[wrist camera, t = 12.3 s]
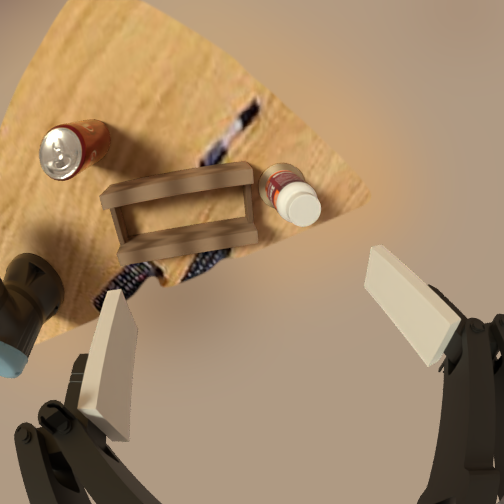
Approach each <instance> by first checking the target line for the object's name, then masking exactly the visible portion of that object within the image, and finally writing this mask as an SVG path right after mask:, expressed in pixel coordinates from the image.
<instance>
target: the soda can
mask: <svg viewBox="0 0 504 504" xmlns="http://www.w3.org/2000/svg"><path fill="white" fill-rule="evenodd" d="M110 142H111V137H110V132H109V130H108V128H107V127H106V125H105V124H104V123H102V122H101V121H99V120H95V119H90V120H83V121H78V122H72V123H66V124H61V125H58V126H55V127H53V128H52V129H51V130H49V131H48V132H47V134H46V135H45V136H44V138H43V140H42V142H41V145H40V149H39V159H40V164H41V167H42V169H43V170H44V172H45V173H46V174H47V175H48V176H49V177H50V178H52V179H54V180H58V181H65V180H69V179H71V178H73V177H74V176H76V175H77V174H79V173H80V172H82V171H83V170H85V169H87V168H88V167H90V166H91V165H93V164H95V163H96V162H98V161H99V160H101V159H102V158H103V157H104V156H105V155H106V153H107V152H108V150H109V147H110Z"/></svg>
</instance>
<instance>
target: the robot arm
mask: <svg viewBox="0 0 504 504" xmlns="http://www.w3.org/2000/svg"><path fill="white" fill-rule="evenodd" d="M364 288H365V289H366V290H367V291H368V292H369V294H370V295H371V296H372V297H373V298H374V299H375V301H376V302H377V303H378V304H379V305H380V307H381V308H382V309H383V310H384V312H385V313H386V314H387V315H388V316H389V318H390V319H391V320H392V321H393V322H394V324H395V325H396V326H397V328H399V330H400V331H401V333H402V334H403V335H404V336H405V338H406V339H407V340H408V341H409V343H410V344H411V345H412V347H413V348H414V349H415V351H416V352H417V353H418V354H419V356H420V357H421V358H422V360H423V361H424V362H425V364H426V365H427V366H430V365H432V364H434V363H436V362H438V361H439V359H440V358H441V356H442V354H443V353H444V354H445V355H446V358H445V360H444V361H443V363H442V365H441V366H440V368H439V372H440V371H441V370H442V368H443V367H444V371H443V373H444V386H443V400H442V410H441V420H440V426H439V434H438V440H437V446H436V451H435V456H434V461H433V466H432V470H431V474H430V479H429V482H428V485H427V488H426V490H425V491H424V492H423V494H422V495H421V496H420V498H419V500H418V502H417V504H496V500H497V495H498V497H499V500H500V502H498V503H497V504H504V314H497V315H496V316H495V318H494V319H493V321H492V322H491V323H485V324H484V323H483V322H482V321H481V320H479V319H476V318H469V319H467V318H466V317H465V316H464V315H463V314H462V313H461V312H460V311H459V309H457V307H455V305H454V304H453V303H451V302H449V300H448V299H447V298H446V297H444V295H443V294H442V293H441V292H440V291H439V290H438V289H437V288H435V287H433V286H431V285H427V284H425V283H424V282H423V281H422V280H421V279H420V278H419V277H418V276H417V275H416V274H415V273H414V272H413V271H411V270H410V269H409V268H408V267H407V266H406V265H405V264H404V263H403V262H401V261H400V260H399V259H398V258H397V257H396V256H394V255H393V254H392V253H391V252H390V251H389V250H388V249H386V248H385V247H384V246H383V245H377V246H372V247H371V250H370V256H369V263H368V268H367V273H366V279H365V284H364ZM63 299H64V289H63V285H62V282H61V280H60V278H59V276H58V274H57V273H56V271H55V270H54V269H53V268H52V267H51V266H50V265H49V264H48V263H47V262H46V261H45V260H43V259H42V258H40V257H38V256H36V255H34V254H29V253H23V254H19V255H18V256H16V257H15V258H14V259H13V260H12V261H11V263H10V264H9V266H8V268H7V270H6V274H5V277H4V280H3V282H2V280H1V278H0V376H3V377H6V378H16V377H18V376H19V375H20V374H21V373H22V371H23V369H24V367H25V365H26V363H27V362H28V357H29V355H30V353H31V350H32V348H33V345H34V343H35V341H36V338H37V336H38V334H39V332H40V329H41V327H42V325H43V324H44V323H45V322H46V321H47V320H49V319H50V318H51V317H52V316H53V315H55V314H56V313H57V312H58V310H59V309H60V307H61V304H62V302H63ZM137 333H138V328H137V326H136V324H135V321H134V319H133V317H132V314H131V312H130V310H129V308H128V305H127V302H126V300H125V297H124V295H123V292H122V290H121V289H118V290H111V291H107V294H106V297H105V300H104V303H103V306H102V310H101V313H100V316H99V319H98V323H97V326H96V330H95V334H94V337H93V340H92V344H91V348H90V352H89V354H80V355H79V357H78V358H77V359H76V361H75V362H74V365H73V369H72V372H71V373H72V375H71V376H70V383H69V385H68V389H67V393H66V398H65V403H64V405H63V404H62V403H61V402H59V401H57V400H50V401H48V402H46V403H45V404H44V405H43V406H42V407H41V408H40V410H39V413H38V421H39V424H40V425H41V426H42V427H40V428H35V427H34V426H33V425H32V424H30V423H27V422H26V423H22V424H21V425H19V426H18V427H17V429H16V431H15V434H14V440H15V446H16V451H17V456H18V461H19V466H20V470H21V474H22V477H23V482H24V485H25V489H26V492H27V495H28V498H29V501H30V504H91V502H90V500H89V498H88V495H87V493H86V491H85V489H86V490H87V492H88V493H89V494H90V496H91V497H92V498H93V500H94V501H95V502H96V504H161V503H160V502H159V501H158V500H157V499H156V498H155V497H154V496H153V495H152V494H151V493H150V492H149V491H148V490H147V489H146V488H145V487H144V486H143V485H142V484H141V483H140V482H139V481H138V480H137V479H136V477H135V476H133V474H132V473H131V472H130V471H129V470H128V469H127V468H126V466H125V465H124V464H123V463H122V462H121V461H120V459H119V458H118V457H117V456H116V455H115V453H114V452H113V451H112V450H111V448H110V447H109V446H108V445H107V444H106V436H107V437H108V438H109V439H111V440H112V441H123V442H129V431H130V407H131V390H132V379H133V368H134V358H135V349H136V341H137ZM499 351H500V352H501V356H500V358H499V359H497V357H496V355H497V354H498V352H499ZM493 458H494V461H495V468H494V467H493ZM84 488H85V489H84Z"/></svg>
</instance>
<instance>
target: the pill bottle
mask: <svg viewBox="0 0 504 504" xmlns="http://www.w3.org/2000/svg"><path fill="white" fill-rule="evenodd" d="M265 193H266V196H267V198H268V199H269V201H270V202H271V203H272V205H273V206H274V207H275V209H276V210H277V212H278V213H279V214H280V216H281V217H282V218H283V219H285V220H286V221H288V222H291V223H294V224H295V225H297V226H301V227H305V226H309V225H311V224H313V223H314V222H315V221H316V220H317V219H318V218H319V216H320V213H321V204H320V202H319V200H318V198H317V194H316V192H315V190H314V189H313V188H312V187H311V186H310V185H309V184H307V183H306V182H305V181H304V180H302V179H301V178H300V177H298V176H297V175H296V174H295V173H293V172H291V171H288V170H279V171H276V172H274V173H273V174H271V175H270V176H269V178H268V179H267V181H266V184H265Z"/></svg>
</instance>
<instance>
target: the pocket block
mask: <svg viewBox="0 0 504 504" xmlns="http://www.w3.org/2000/svg"><path fill="white" fill-rule="evenodd" d="M250 184H254V180H253V169H252V167H251V166H250V165H249V164H248V163H247V162H246V161H241V162H233V163H226V164H218V165H211V166H205V167H198V168H192V169H186V170H180V171H174V172H169V173H164V174H158V175H153V176H148V177H144V178H139V179H134V180H130V181H125V182H121V183H117V184H112V185H110V186H109V187H108V188H107V189H106V190H105V191H104V192H103V193H102V194H101V195H100V196H99V197H100V201H101V204H102V208H103V210H105V209H110V211H111V214H112V218H113V222H114V225H115V229H116V232H117V235H118V239H119V242H120V247H119V250H118V252H117V257H118V260H119V263H120V266H123V265H128V264H134V263H140V262H146V261H152V260H158V259H164V258H170V257H176V256H182V255H188V254H194V253H200V252H207V251H213V250H219V249H225V248H231V247H237V246H244V245H250V244H256V243H258V231H257V229H256V227H255V225H254V221H253V209H252V197H251V185H250ZM238 185H243V193H244V204H245V214H246V217H240V218H234V219H227V220H221V221H214V222H208V223H202V224H196V225H190V226H184V227H178V228H172V229H166V230H161V231H155V232H150V233H144V234H139V235H133V236H128V233H127V230H126V226H125V223H124V219H123V215H122V211H121V208H120V206H123V205H128V204H133V203H138V202H143V201H148V200H153V199H158V198H163V197H169V196H174V195H180V194H186V193H192V192H198V191H204V190H211V189H217V188H224V187H231V186H238Z"/></svg>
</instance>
